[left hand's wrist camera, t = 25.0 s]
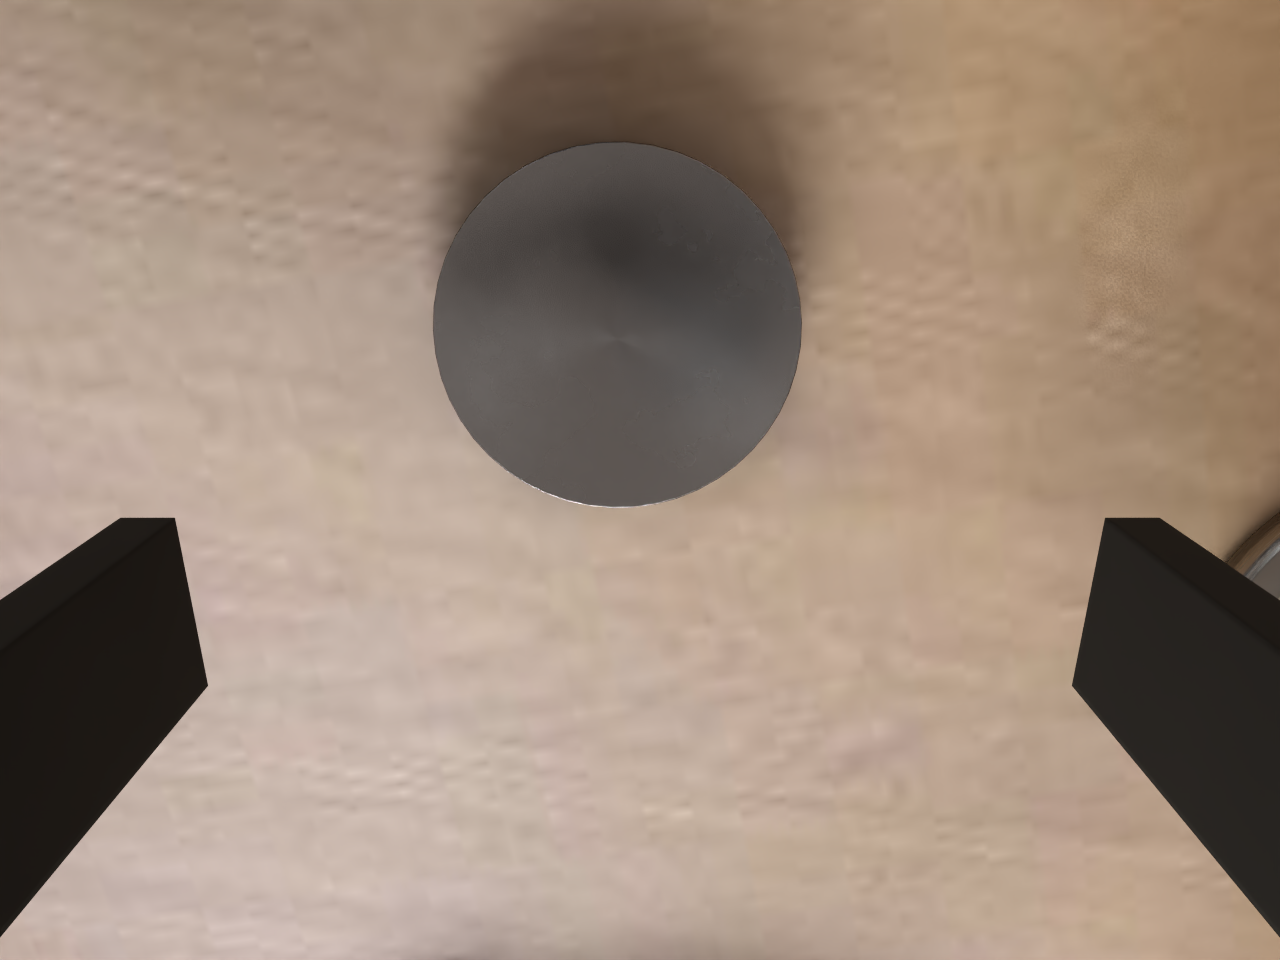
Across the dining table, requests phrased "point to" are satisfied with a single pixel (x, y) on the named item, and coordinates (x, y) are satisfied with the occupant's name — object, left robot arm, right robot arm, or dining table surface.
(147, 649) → the left robot arm
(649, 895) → the dining table surface
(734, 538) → the dining table surface
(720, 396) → the lid
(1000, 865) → the dining table surface
